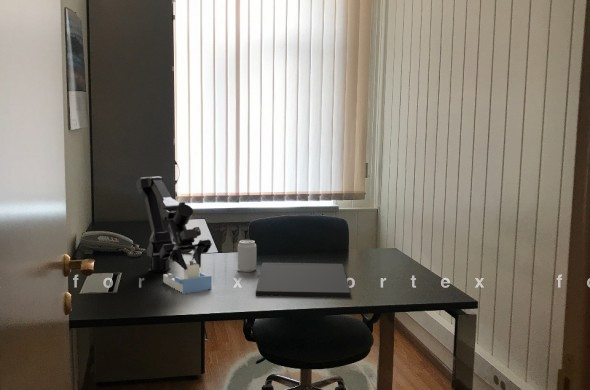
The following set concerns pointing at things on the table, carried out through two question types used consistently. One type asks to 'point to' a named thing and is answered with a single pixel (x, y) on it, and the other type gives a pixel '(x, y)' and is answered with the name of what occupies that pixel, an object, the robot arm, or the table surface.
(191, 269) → the beige drawer with knob
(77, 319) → the table surface
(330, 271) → the thin dark grey tray
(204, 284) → the sled frame
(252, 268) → the can
